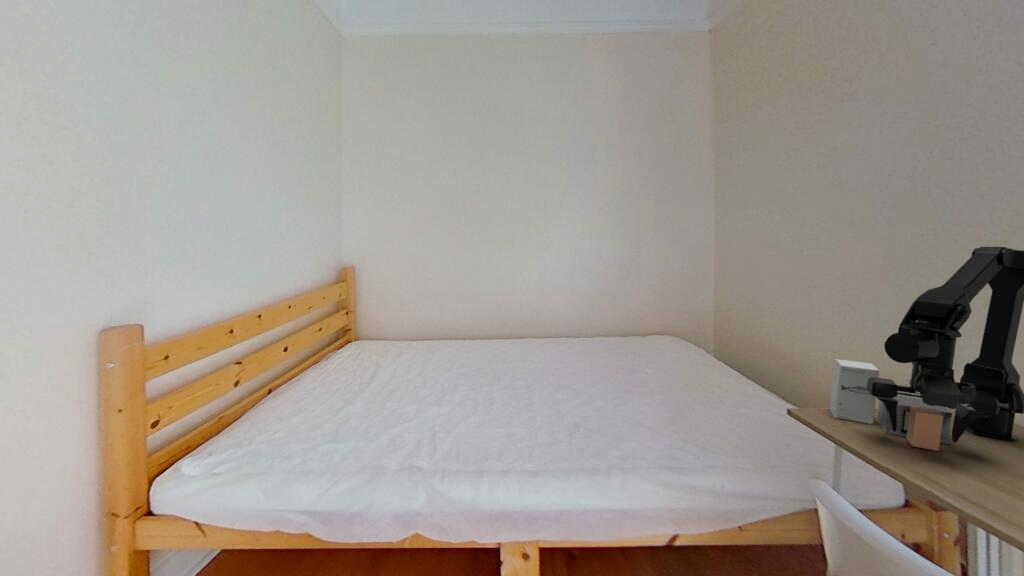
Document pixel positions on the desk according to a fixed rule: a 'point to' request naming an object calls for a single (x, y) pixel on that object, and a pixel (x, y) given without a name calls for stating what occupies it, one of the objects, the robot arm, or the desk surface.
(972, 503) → the desk surface
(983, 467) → the desk surface
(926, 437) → the cover
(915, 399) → the block
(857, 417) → the supplement box
